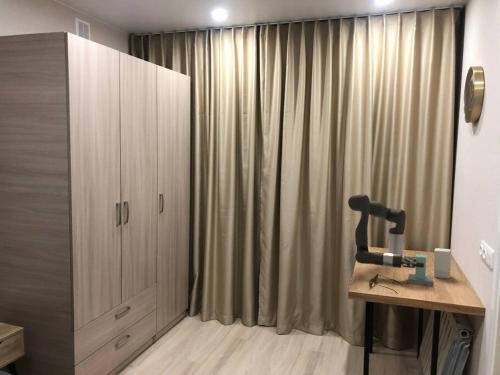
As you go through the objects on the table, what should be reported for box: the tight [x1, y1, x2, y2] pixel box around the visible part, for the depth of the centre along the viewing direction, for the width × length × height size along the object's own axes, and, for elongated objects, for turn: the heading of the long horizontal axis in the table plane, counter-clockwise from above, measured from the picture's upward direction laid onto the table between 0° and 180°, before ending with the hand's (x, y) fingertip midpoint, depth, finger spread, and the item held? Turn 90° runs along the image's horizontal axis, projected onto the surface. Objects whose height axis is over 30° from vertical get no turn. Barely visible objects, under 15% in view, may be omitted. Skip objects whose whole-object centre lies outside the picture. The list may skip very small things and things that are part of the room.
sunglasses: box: [368, 273, 405, 295], centre depth 212 cm, size 14×15×5 cm
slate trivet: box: [407, 273, 433, 287], centre depth 221 cm, size 10×12×2 cm
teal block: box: [414, 253, 427, 279], centre depth 220 cm, size 5×5×12 cm
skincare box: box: [433, 247, 452, 280], centre depth 229 cm, size 8×7×16 cm
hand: (424, 263), depth 219 cm, fingers open, 8 cm apart
